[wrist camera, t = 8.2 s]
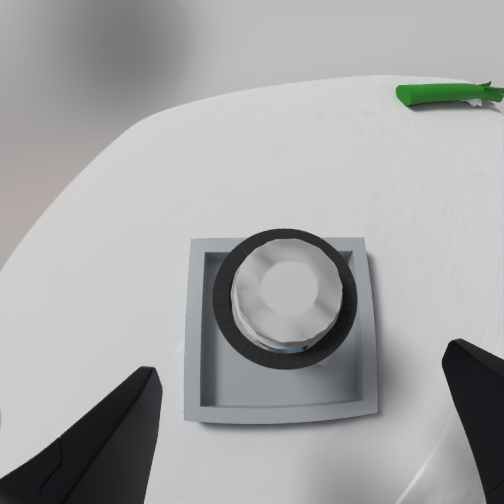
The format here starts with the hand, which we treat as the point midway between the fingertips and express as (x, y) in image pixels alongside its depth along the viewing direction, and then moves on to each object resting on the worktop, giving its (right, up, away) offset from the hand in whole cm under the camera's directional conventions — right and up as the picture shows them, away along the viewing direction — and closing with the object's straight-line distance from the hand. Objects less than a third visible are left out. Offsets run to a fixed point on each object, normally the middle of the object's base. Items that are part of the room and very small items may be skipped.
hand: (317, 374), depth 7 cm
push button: (0, -2, +11) cm, 11 cm away
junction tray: (0, -2, +12) cm, 12 cm away
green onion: (+30, +27, +23) cm, 47 cm away
